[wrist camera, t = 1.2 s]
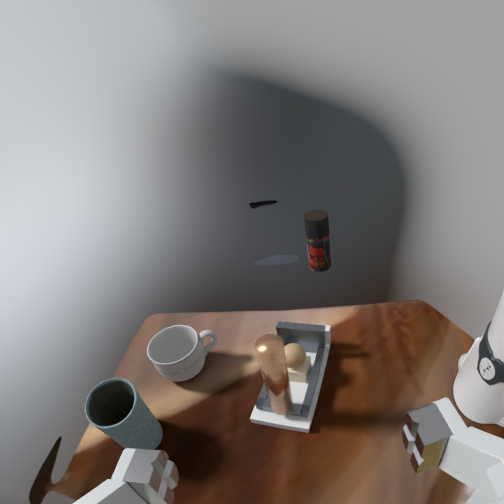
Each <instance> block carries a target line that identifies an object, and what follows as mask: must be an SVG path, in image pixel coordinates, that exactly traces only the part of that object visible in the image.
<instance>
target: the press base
mask: <svg viewBox="0 0 504 504" xmlns="http://www.w3.org/2000/svg"><path fill="white" fill-rule="evenodd" d="M282 322H283V321H282ZM292 323H293V322H292ZM303 324H304V323H303ZM314 325H315V324H314ZM325 335H326V348H325V352H324V356H323V361H322V365H321V369H320V373H319V377H318V381H317V385H316V389H315V393H314V396H313V400H312V404H311V407H310V411H309V415H308V418H307V417H300V416H294V415H287V414H285V415H278V414H276V413H274V412H270V411H265V410H260V409H257V408H256V405H255V407H254V410H253V412H252V415H251V417H250V420H251V422H253V423H257V424H262V425H267V426H272V427H277V428H283V429H289V430H295V431H301V432H307V433H309V430H310V426H311V423H312V419H313V415H314V412H315V408H316V404H317V400H318V396H319V392H320V388H321V384H322V380H323V376H324V372H325V367H326V363H327V358H328V354H329V349H330V345H331V329H330V326H328V325H325ZM284 350H285V356H286V362H287V369H288V375H289V381H290V387H291V393H292V400H293V403H294V404H301V405H303V401H304V398H305V394H306V391H307V387H308V384H309V380H310V376H311V372H312V369H313V365H314V361H315V357H316V353H317V352H309V351H305V350H304V348H303V347H302V346H301V345H299V344H297V343H290V344H287V345H286V346H285V347H284ZM263 385H264V384H263ZM268 399H269V398H268Z"/></svg>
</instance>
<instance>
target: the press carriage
mask: <svg viewBox="0 0 504 504" xmlns="http://www.w3.org/2000/svg"><path fill="white" fill-rule="evenodd" d="M276 330H277V335H275V334H267V335H264V336H262V337H260V338H259V339H258V340H257V341H256V343H255V350H256V354H257V358H258V361H259V365H260V369H261V372H262V376H263V380H264V385H263V387H262V390H261V392H260V395H259V397H258V400H257V402H256V408H257V409H260V410H265V411H270V412H274V413H276V414H278V415H285V414H287V415H294V416H300V417H307V418H308V415H309V411H310V407H311V404H312V400H313V396H314V393H315V389H316V385H317V381H318V377H319V373H320V369H321V365H322V361H323V356H324V352H325V348H326V335H325V325H314V324H303V323H292V322H282V321H278V324H277V326H276ZM290 343H297V344H299V345H301V346H302V347H303V348H304V350H305V351H309V352H317V353H316V357H315V361H314V365H313V369H312V372H311V376H310V380H309V384H308V387H307V391H306V394H305V398H304V401H303V405H301V404H294V403H293V400H292V393H291V387H290V381H289V375H288V369H287V362H286V356H285V350H284V347H285V346H286V345H287V344H290ZM268 398H269V399H268Z"/></svg>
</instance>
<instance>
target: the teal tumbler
mask: <svg viewBox="0 0 504 504" xmlns="http://www.w3.org/2000/svg"><path fill="white" fill-rule="evenodd" d="M85 413H86V416H87V418H88V420H89V421H90V423H91V424H93V425H94V426H95V427H97V428H98V429H99V430H101V431H103V432H104V433H105V434H106V435H108V436H110V437H111V438H112V439H113V440H115V441H116V442H117V443H119V444H120V445H121V446H123V447H124V448H134V449H147V450H154V449H156V448H157V447H158V445H159V444H160V442H161V440H162V436H163V431H162V427H161V425H160V423H159V422H158V420H157V419H156V418H155V416H154V415H153V414H152V413H151V412H150V410H149V408H148V407H147V406H146V404H145V403H144V401H143V400H142V399H141V397H140V395H139V393H138V392H137V390H136V389H135V387H134V386H133V384H132V383H131V382H129V381H128V380H125V379H122V378H112V379H108V380H105V381H103V382H101V383H100V384H98V385H97V386H96V387H95V388H94V389H93V390H92V391H91V392H90V394H89V395H88V397H87V400H86V403H85Z"/></svg>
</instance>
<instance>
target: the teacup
mask: <svg viewBox="0 0 504 504" xmlns="http://www.w3.org/2000/svg"><path fill="white" fill-rule="evenodd" d="M207 336H211V337H212V339H211V341H210V342H209V344H207V345H206V346H205V347H202V344H203V339H204V338H205V337H207ZM216 342H217V336H216V334H215V333H214V332H213V331H212V330H204V331H202V332H201V333H200V334H199V335H198V334H197V332H196V331H195V330H194V329H193V328H192V327H190V326H186V325H175V326H171V327H168V328H165V329H163V330H162V331H160V332H159V333H157V334H156V335H155V336H154V337H153V338H152V339H151V341H150V343H149V345H148V348H147V354H148V357H149V359H150V360H151V361H152V362H153V364H154V366H155V367H156V369H157V370H158V371H159V373H160V374H161V375H162V376H163V377H165V378H166V379H168V380H170V381H175V382H180V381H185V380H189V379H191V378H193V377H194V376H196V375H197V374H198V373H199V372H200V371H201V369H202V368H203V366H204V363H205V356H206V355H207V354H208V352H209V351H210V350H211V349H212V348H213V347H214V345H215V344H216Z"/></svg>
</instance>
